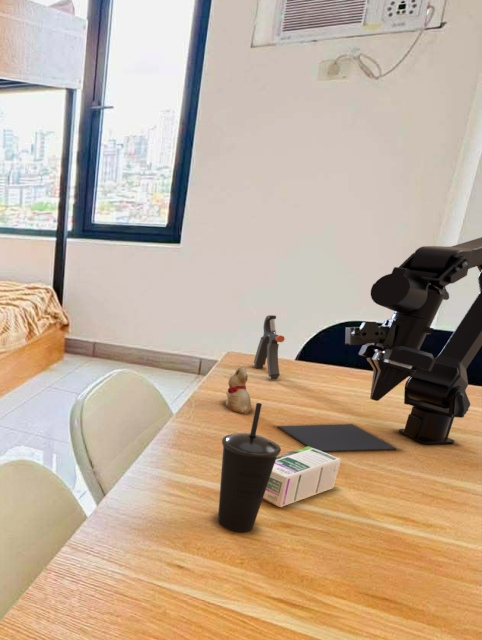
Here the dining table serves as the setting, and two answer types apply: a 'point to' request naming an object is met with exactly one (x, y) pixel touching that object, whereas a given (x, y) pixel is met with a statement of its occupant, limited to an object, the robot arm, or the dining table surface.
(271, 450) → the drinking cup
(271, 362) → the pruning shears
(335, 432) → the placemat
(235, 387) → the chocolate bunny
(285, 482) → the syrup box
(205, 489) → the dining table surface
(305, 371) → the dining table surface
